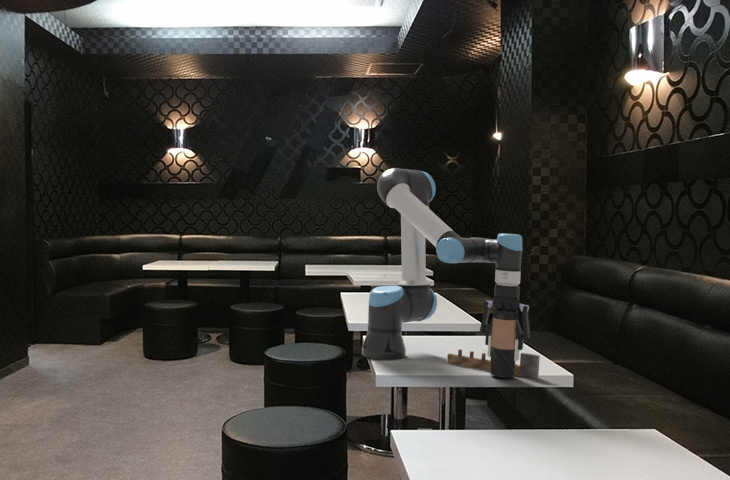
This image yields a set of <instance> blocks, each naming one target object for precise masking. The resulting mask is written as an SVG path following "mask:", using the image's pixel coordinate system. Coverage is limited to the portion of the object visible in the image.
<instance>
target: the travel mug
mask: <svg viewBox="0 0 730 480" xmlns="http://www.w3.org/2000/svg"><path fill="white" fill-rule="evenodd" d="M492 318H493V324H492V333H491V334H492V339H491V357H490V360H491V371H490V375H492V376H494V377H497V378H503V379H505V378H508V379H510V378H514V376H515V375H514V371H515V363H516V361H514V355H515V340H516V339H517V338H518V337H517V334H516V331H515V327H516V321H518V320H519V310H518V309H517V310H516V312H504V311H496V308H493V312H492Z"/></svg>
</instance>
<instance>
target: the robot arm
mask: <svg viewBox="0 0 730 480" xmlns="http://www.w3.org/2000/svg"><path fill="white" fill-rule="evenodd" d="M376 190H377V193H378V196H379V197H380V199H381V200H382V201H383V202H384V204H386V205H387V206H388V207H389V208H391V209H395V210H396V211H397V212H398V213H399V214H400V228H401V229H400V231H401V232H400V233H401V234H400V235H401V238H400V239H401V242H400V243H401V247H400V248H401V249H400V250H401V280H399V282H398V283H397V285H381V286H377V287H374V288H372V289H371V290H370V292H369V297H368V311H367V313H368V315H367V316H368V317H367V332H366V335H365V338H364V341H363V343H362V347H361V355H362V356H363V357H365V358H368V359H373V360H382V361H396V360H402V359H405V357H406V352H407V349H406V346H405V342H404V339H403V334H402V330H403V329H402V327H403V324H404V323H411V322H417V323H418V322H419V323H420V322H422V321H425V320H428V319H430V318H431V317H432V316H433V315H434V314H435V312H436V311H437V306H438V298H437V297H438V296H437V294H435V291H434V290H432V289H431V283H430V282H429V281H428V279H427V276H426V275H427V274H426V273H427V272H426V271H427V270H426V269H427V268H426V267H427V266H426V265H427V264H426V240H428V241H429V242H430V243H431V244H432V245H433V246H434V247H435V250H436V251H435V252H436V254H437V258H438V259H439V260H440V261H441V262H443V263H446V264H447V263H448V264H459V263H462V264H463V263H489V264H490V263H491V264H495V274H494V275H495V277H494V282H495V285H494V290H493V291H494V292H493V299H492V300H485V301H483V313H482V318H481V322H480V327H479V332H480V333H482V334H485V335H484V336H485V339H484V340H485V341H484V344H485V346H487V357H488V358H491V339H492V324H493V317H492V318H491V320H490V322H489V316H490V312H491V308H492V307H493V306H494V309H495V310H496V311H504V312H516V310H517V311H518V309H520V312H521V317H522V318H521V320H522V327H521V323H520V319H518V321H516V327H515V331H516V334H517V339H516V340H515V355H514V361H515V362H518V361H520V351H522V350H523V348H524V340H526V339H529V338H530V337H531V331H530V321H529V311H530V305H529V304H523V303H521V301H520V289H521V287H520V284H521V271H522V269H521V266H522V257H523V256H522V255H523V251H524V250H523V236H522V235H520V234H515V233H498V234H497V238H496V239H492V238H486V237H485V238H484V237H461V236H460V235H459V234H457V233H456V231H454V230H453V229H452V228H451V227H450V226H449V225H447V224H446V222H444V221H443V220H442V219H441V218H440V217H439V216H438V215H436V214H435V212H433V211H432V210H431V208H430V202H431V201H433V199H434V197H435V195H436V192H437V191H436V183H435V181H434V179H433V177H432V176H431V175H430V174H429V173H428V172H425V171H421V170H419V169H410V168H409V169H406V168H398V167H392V168H389V169H387V170H384V172H382V174H380V176H379V178H378V180H377V185H376ZM488 322H489V324H488ZM487 326H488V327H487ZM522 328H523V330H522Z"/></svg>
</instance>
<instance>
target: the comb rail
mask: <svg viewBox="0 0 730 480" xmlns="http://www.w3.org/2000/svg"><path fill="white" fill-rule="evenodd" d="M486 356H487V355H486V352H482V353H481V358H480V357H474V351H471V350H470V351H469V356H467V355H463V349H458V350H457V354H453V353H448V354H447V359H446V360H447V361H446V363H447V364H449V365H454V364H455V365H456V366H460V365H462V366H461V367H467V368H471V367H472V368H471V369H477V368H478V370H484V371H491V359H486ZM540 360H541V359H540V355H539V354H532V353H528V352H520V355H519V364H517V362H515V371H514V376H520V377H525V378H530V379H531V378H533V379H536V380H537V379H539V375H540V374H539V372H540Z"/></svg>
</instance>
